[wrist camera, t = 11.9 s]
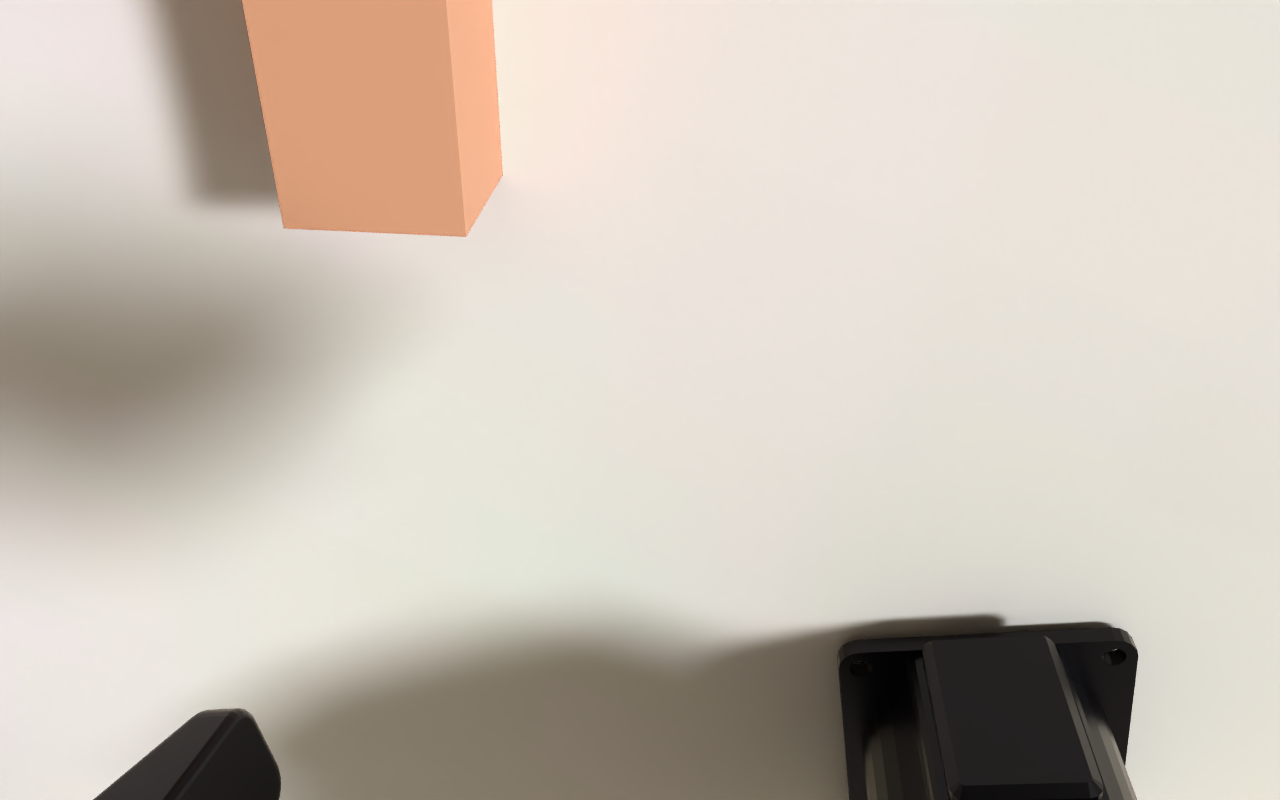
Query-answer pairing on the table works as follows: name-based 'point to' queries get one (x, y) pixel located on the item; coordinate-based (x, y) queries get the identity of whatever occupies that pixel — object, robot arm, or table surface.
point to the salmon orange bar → (379, 111)
